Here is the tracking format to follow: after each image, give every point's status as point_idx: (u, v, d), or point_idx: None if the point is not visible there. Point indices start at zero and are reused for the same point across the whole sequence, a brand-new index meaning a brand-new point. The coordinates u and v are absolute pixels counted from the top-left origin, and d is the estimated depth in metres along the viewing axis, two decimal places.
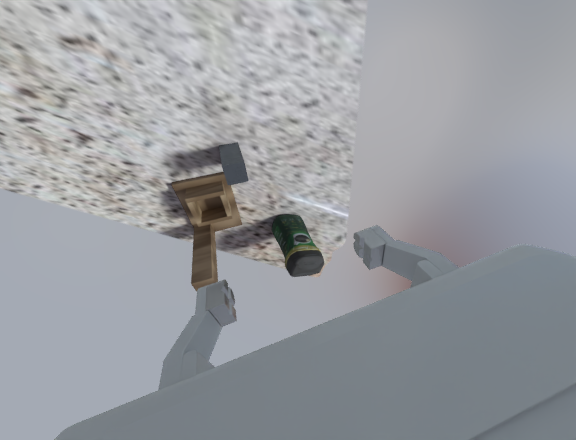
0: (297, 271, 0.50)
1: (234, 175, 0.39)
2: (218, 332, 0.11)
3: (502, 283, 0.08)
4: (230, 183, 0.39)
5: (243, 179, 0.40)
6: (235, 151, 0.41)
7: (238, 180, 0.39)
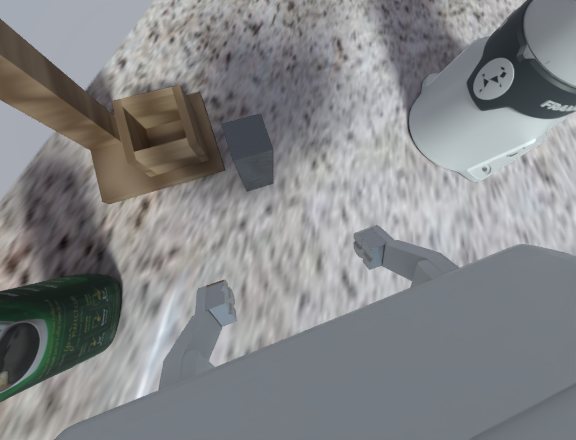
0: None
1: (242, 135, 0.20)
2: (218, 332, 0.11)
3: (502, 283, 0.08)
4: (225, 128, 0.20)
5: (236, 151, 0.20)
6: None
7: (233, 142, 0.20)
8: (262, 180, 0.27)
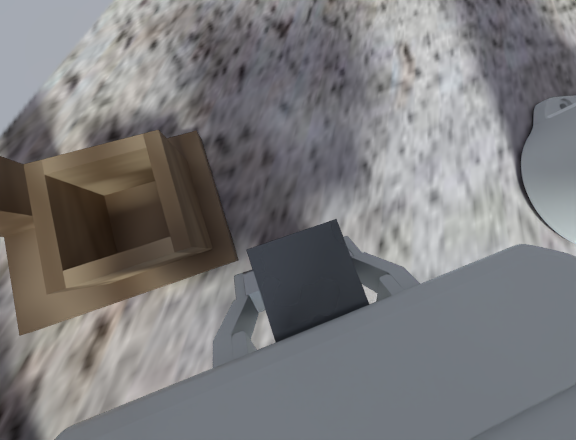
0: None
1: (298, 277, 0.08)
2: (255, 318, 0.11)
3: (502, 283, 0.08)
4: (256, 261, 0.08)
5: (284, 321, 0.08)
6: None
7: (278, 298, 0.08)
8: None
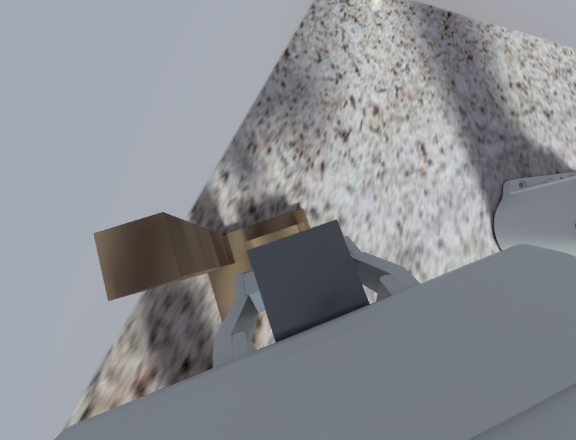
0: None
1: (299, 277, 0.08)
2: (255, 317, 0.11)
3: (502, 283, 0.08)
4: (256, 261, 0.08)
5: (284, 322, 0.08)
6: None
7: (278, 299, 0.08)
8: None
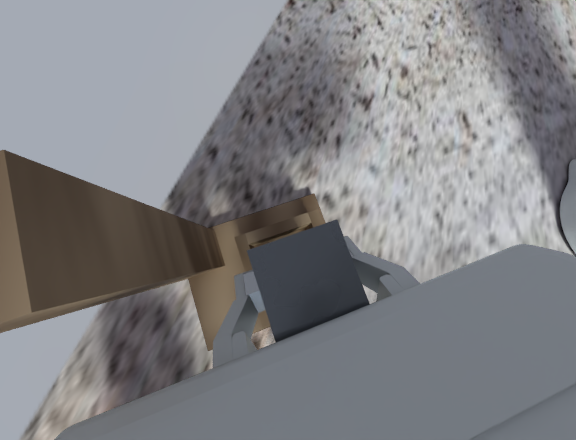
0: None
1: (299, 277, 0.08)
2: (255, 318, 0.11)
3: (502, 283, 0.08)
4: (256, 262, 0.08)
5: (284, 322, 0.08)
6: None
7: (278, 299, 0.08)
8: None
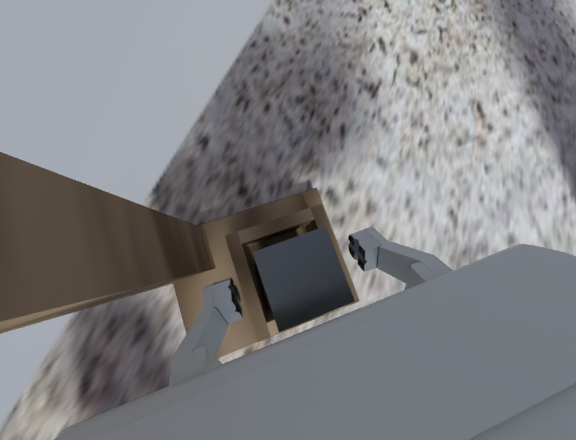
0: None
1: (295, 273, 0.10)
2: (225, 329, 0.11)
3: (502, 283, 0.08)
4: (260, 261, 0.10)
5: (283, 310, 0.10)
6: None
7: (278, 291, 0.10)
8: None
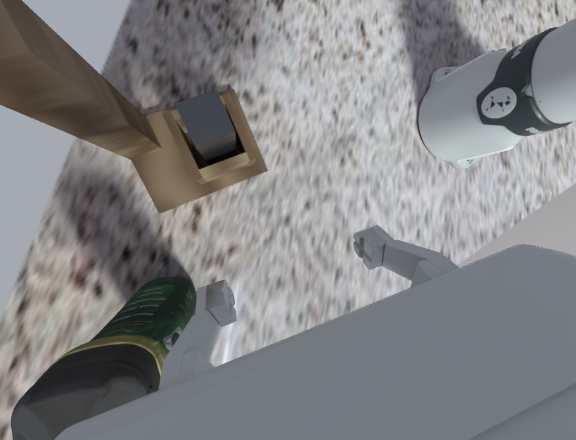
0: (69, 411, 0.12)
1: (201, 116, 0.19)
2: (218, 332, 0.11)
3: (502, 283, 0.08)
4: (180, 108, 0.19)
5: (196, 135, 0.19)
6: None
7: (192, 125, 0.19)
8: (224, 155, 0.27)
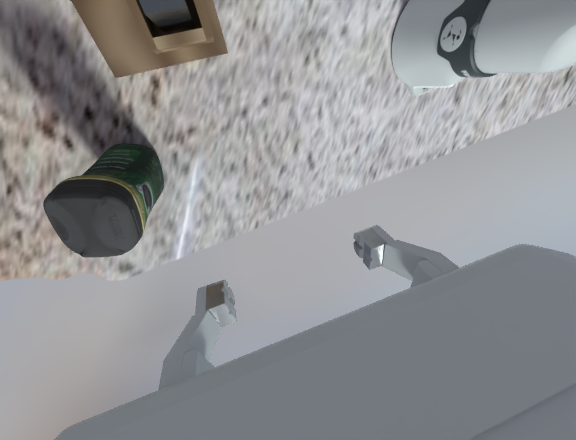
0: (82, 208, 0.21)
1: None
2: (218, 332, 0.11)
3: (502, 283, 0.08)
4: None
5: (145, 0, 0.19)
6: None
7: None
8: (180, 24, 0.26)
